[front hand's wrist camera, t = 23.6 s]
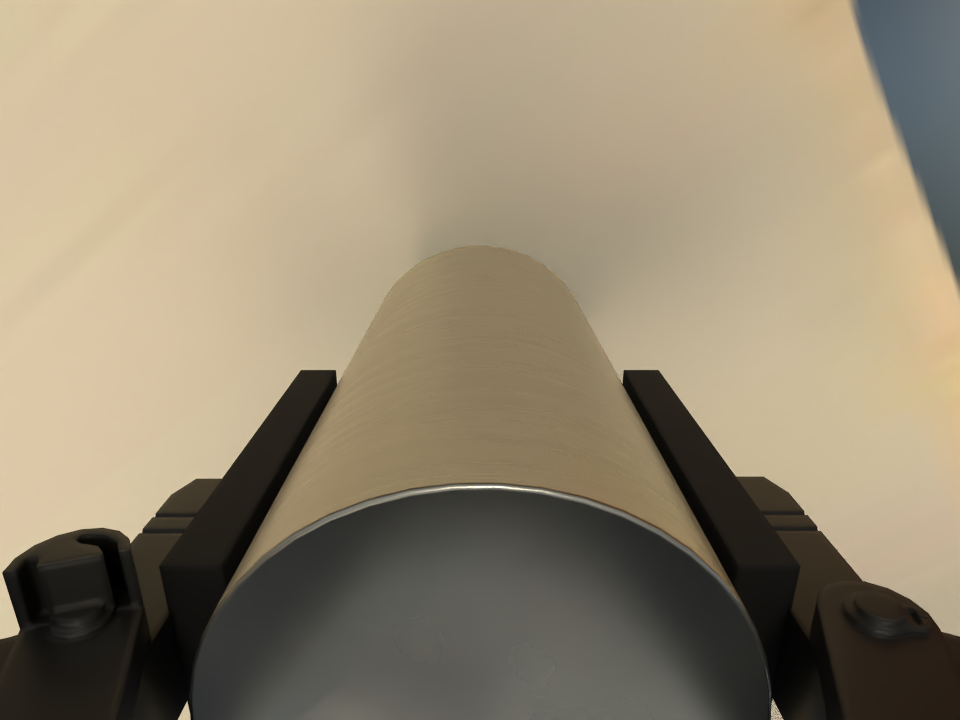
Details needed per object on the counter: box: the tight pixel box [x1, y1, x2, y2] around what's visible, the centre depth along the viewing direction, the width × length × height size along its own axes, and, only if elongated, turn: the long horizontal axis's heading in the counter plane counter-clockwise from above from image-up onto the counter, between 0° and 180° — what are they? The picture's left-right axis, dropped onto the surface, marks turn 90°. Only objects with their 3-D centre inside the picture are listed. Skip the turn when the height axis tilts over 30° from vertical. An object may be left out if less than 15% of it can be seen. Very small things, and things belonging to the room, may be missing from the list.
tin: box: [189, 246, 771, 720], centre depth 13 cm, size 6×6×12 cm
